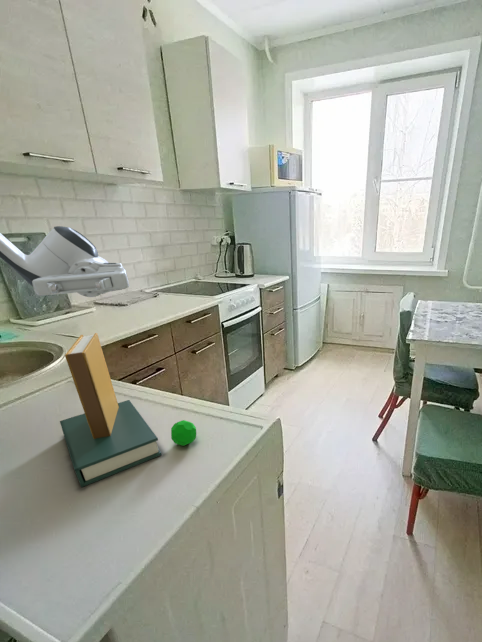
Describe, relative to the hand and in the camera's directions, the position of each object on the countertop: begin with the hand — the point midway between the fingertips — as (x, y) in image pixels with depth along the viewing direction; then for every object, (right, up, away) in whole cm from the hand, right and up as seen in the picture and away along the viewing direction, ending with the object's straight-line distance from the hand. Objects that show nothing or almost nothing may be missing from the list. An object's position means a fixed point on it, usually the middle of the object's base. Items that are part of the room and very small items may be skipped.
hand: (76, 287), depth 78 cm
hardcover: (+11, -34, -7) cm, 36 cm away
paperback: (+10, -29, -6) cm, 31 cm away
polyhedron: (+26, -33, -7) cm, 43 cm away
